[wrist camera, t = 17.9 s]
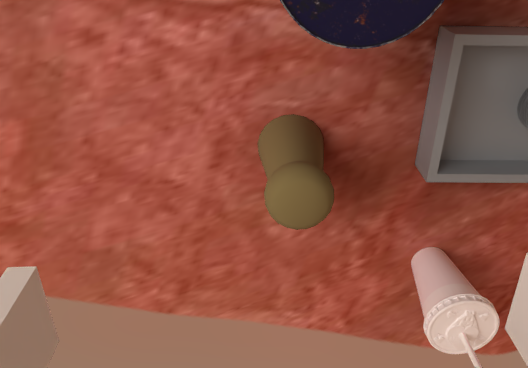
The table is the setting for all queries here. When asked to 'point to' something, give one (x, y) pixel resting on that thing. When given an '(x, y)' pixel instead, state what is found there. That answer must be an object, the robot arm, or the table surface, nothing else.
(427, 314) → the smoothie
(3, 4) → the table surface
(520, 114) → the silver metal cylinder
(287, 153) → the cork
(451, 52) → the tray
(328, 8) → the storage jar
